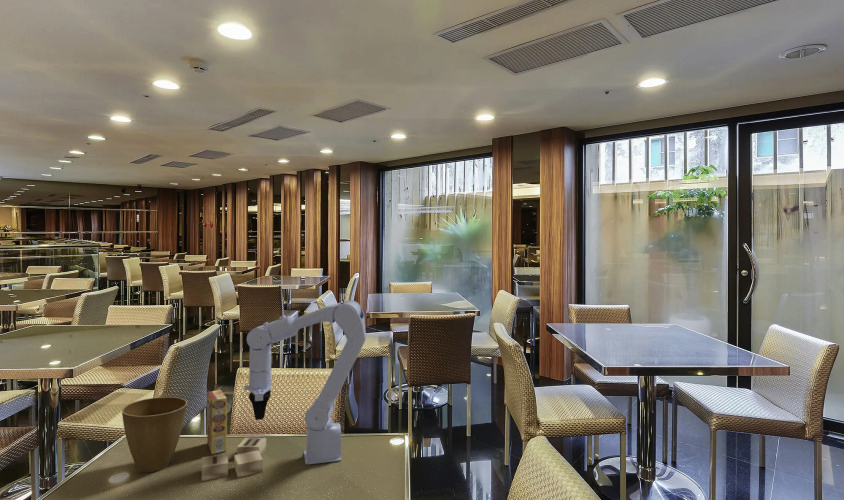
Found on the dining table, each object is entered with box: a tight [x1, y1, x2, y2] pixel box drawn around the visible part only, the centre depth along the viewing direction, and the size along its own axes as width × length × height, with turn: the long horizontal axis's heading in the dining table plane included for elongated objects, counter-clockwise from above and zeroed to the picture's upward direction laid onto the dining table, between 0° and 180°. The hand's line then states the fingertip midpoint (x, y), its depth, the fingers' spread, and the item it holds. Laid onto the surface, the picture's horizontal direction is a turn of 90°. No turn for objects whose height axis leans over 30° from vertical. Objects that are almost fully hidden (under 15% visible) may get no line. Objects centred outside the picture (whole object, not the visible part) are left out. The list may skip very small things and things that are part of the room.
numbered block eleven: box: [236, 437, 267, 457], centre depth 131 cm, size 6×6×4 cm
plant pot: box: [121, 396, 188, 473], centre depth 123 cm, size 15×15×16 cm
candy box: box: [206, 389, 228, 455], centre depth 135 cm, size 9×4×15 cm, turn 33°
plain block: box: [233, 451, 264, 478], centre depth 122 cm, size 6×6×4 cm
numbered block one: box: [201, 453, 229, 482], centre depth 120 cm, size 6×6×4 cm
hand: (259, 418), depth 129 cm, fingers closed
